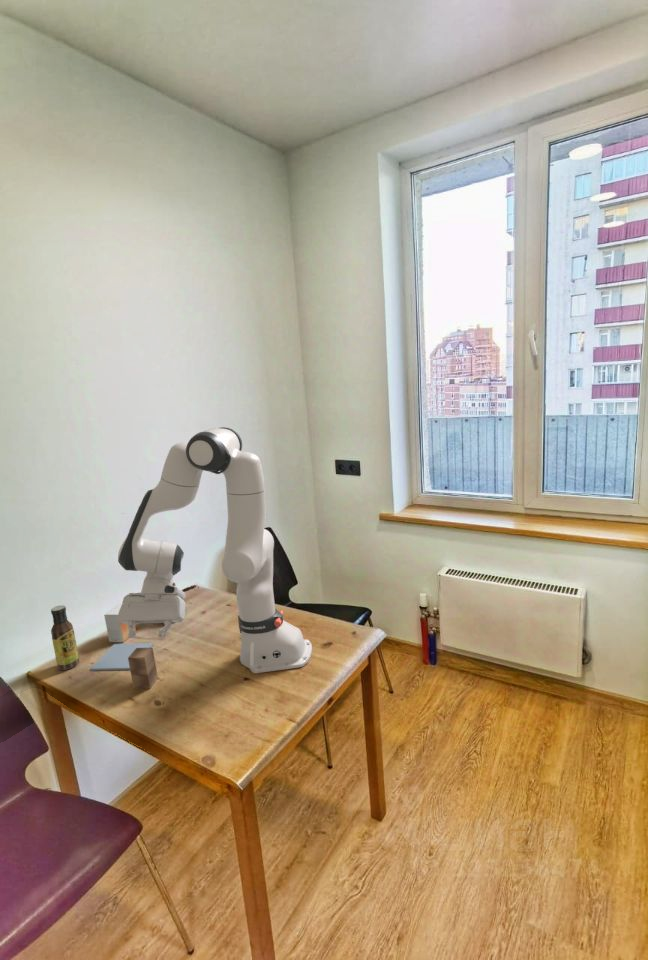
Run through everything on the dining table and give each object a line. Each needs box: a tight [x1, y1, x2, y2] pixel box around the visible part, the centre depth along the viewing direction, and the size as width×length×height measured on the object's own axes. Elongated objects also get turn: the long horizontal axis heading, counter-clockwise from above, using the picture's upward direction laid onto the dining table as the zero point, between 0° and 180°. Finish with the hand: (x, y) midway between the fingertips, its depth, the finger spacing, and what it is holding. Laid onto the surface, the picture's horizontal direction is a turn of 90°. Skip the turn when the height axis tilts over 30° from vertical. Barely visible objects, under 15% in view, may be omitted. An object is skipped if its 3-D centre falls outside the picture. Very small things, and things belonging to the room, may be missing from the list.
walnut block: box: [128, 647, 159, 690], centre depth 137 cm, size 5×5×10 cm
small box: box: [104, 603, 137, 643], centre depth 165 cm, size 8×6×10 cm
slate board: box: [89, 642, 154, 671], centre depth 153 cm, size 14×14×1 cm
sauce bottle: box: [50, 604, 80, 671], centre depth 149 cm, size 6×6×20 cm
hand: (146, 637), depth 140 cm, fingers open, 8 cm apart
